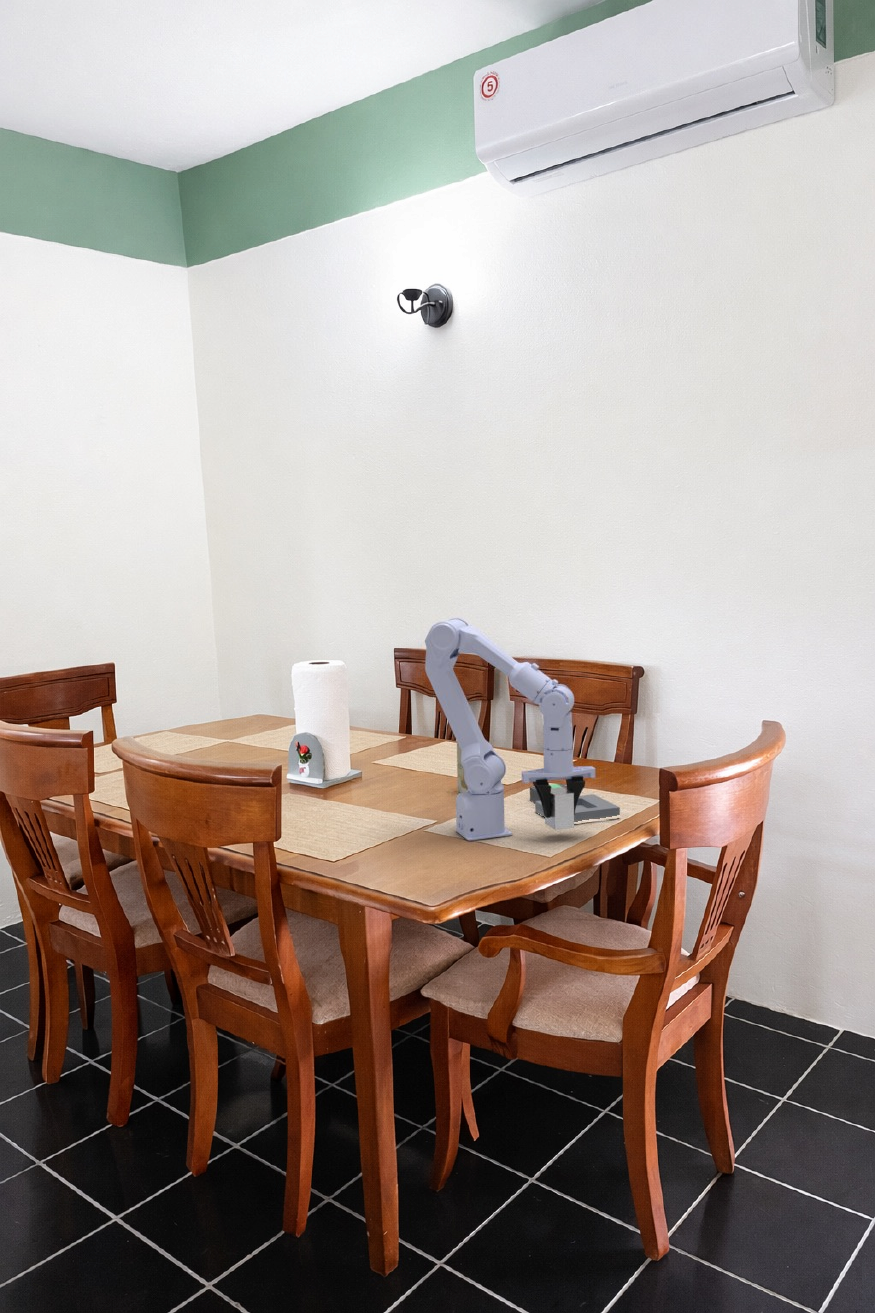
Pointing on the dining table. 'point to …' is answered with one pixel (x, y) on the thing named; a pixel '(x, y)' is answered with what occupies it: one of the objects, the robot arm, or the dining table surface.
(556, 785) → the button
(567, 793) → the block
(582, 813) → the pocket plate
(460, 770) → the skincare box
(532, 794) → the button housing
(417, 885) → the dining table surface
